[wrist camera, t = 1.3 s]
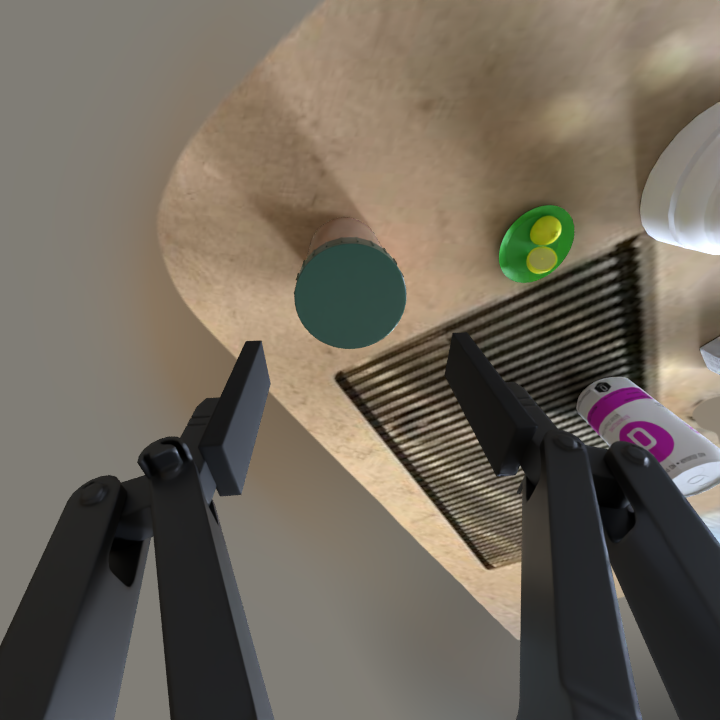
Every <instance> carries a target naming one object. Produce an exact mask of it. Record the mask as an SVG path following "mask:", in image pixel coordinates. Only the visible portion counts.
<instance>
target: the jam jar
mask: <svg viewBox="0 0 720 720" xmlns="http://www.w3.org/2000/svg"><path fill="white" fill-rule="evenodd" d="M356 236H357V237H358V238H362V239H365V240H368V241H371V240H372V242H373V243H375V244H377V245H379V246H380V247H382V246H381V244H380V242H379V240H378V239H377V237H376V235H375V233H374V232H373V231H372V229H371V228H370V227H369V226H367V225H366V224H365V223H363V222H362V221H360V220H357V219H354V218H350V217H339V218H335V219H332V220H329V221H328V222H326V223H324V224H323V225H322V226H321V227H320V228H319V229H318V230H317V231H316V232H315V234H314V236H313V237H312V240H311V242H310V246H309V251H308V255H307V258H308V256H309V255H310V254H311V253H312V252H313V250H314V249H317V248H318V247H319V246H321V245H323V244H325V243H326V241H327V242H329V241H331V240H334V239H338V238H340V237H342V238H345V237H356Z"/></svg>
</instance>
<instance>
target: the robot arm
mask: <svg viewBox="0 0 720 720" xmlns="http://www.w3.org/2000/svg"><path fill="white" fill-rule="evenodd" d="M445 377H446V379H447V381H448V383H449V385H450V387H451V389H452V391H453V393H454V394H455V396H456V398H457V400H458V402H459V404H460V406H461V408H462V410H463V412H464V414H465V416H466V418H467V420H468V422H469V424H470V426H471V428H472V429H473V431H474V433H475V435H476V437H477V439H478V441H479V443H480V445H481V447H482V449H483V451H484V453H485V455H486V457H487V459H488V461H489V463H490V464H491V466H492V468H493V470H494V472H495V474H496V476H511V475H516V473H517V471H518V469H519V466H521V468H522V469H523V471H524V472H525V476H524V478H523V480H522V482H521V484H520V486H519V488H518V491H517V493H518V494H520V493H521V491H522V489H523V491H522V564H521V636H520V642H521V644H520V701H519V710H518V715H517V719H516V720H642V717H641V712H640V708H639V703H638V698H637V693H636V688H635V683H634V678H633V674H632V669H631V663H630V659H629V654H628V649H627V644H626V639H625V634H624V629H623V624H622V619H621V614H620V609H619V605H618V599H617V595H616V590H615V585H614V580H613V575H612V570H611V566H612V568H613V570H614V572H615V575H616V577H617V579H618V581H619V584H620V586H621V588H622V591H623V593H624V595H625V597H626V599H627V602H628V604H629V606H630V609H631V611H632V613H633V615H634V617H635V620H636V622H637V624H638V627H639V629H640V631H641V633H642V636H643V638H644V640H645V642H646V644H647V647H648V649H649V652H650V654H651V656H652V658H653V661H654V663H655V665H656V667H657V670H658V672H659V674H660V676H661V679H662V681H663V683H664V685H665V687H666V690H667V692H668V694H669V697H670V699H671V701H672V704H673V706H674V708H675V710H676V713H677V715H678V717H679V719H680V720H720V543H719V542H718V541H717V539H716V538H715V537H714V535H713V534H712V533H711V531H710V530H709V529H708V527H707V526H706V525H705V523H704V522H703V521H702V519H701V518H700V517H699V515H698V514H697V513H696V511H695V510H694V509H693V507H692V506H691V505H690V503H689V502H688V501H687V499H686V498H685V497H684V495H683V494H682V492H681V491H680V490H679V488H678V487H677V486H676V484H675V483H674V482H673V480H672V479H671V478H670V476H669V475H668V474H667V472H666V471H665V470H664V468H663V467H662V466H661V464H660V463H659V462H658V460H657V459H656V458H655V457H654V456H653V455H652V454H651V453H650V452H649V451H647V450H646V449H644V448H643V447H640V446H638V445H636V444H634V443H630V442H626V441H616V442H614V443H612V445H611V446H610V447H609V449H603V448H597V447H592V446H587V445H585V444H584V443H583V442H582V441H581V440H580V439H579V438H578V437H576V436H575V435H573V434H571V433H569V432H566V431H563V430H558V428H557V427H556V426H555V425H554V424H553V422H552V421H551V420H550V419H549V418H548V416H547V415H546V414H545V413H544V412H543V410H542V409H541V408H540V407H539V406H537V403H536V402H535V401H534V399H532V397H531V396H530V395H529V393H528V392H527V391H526V390H525V389H524V388H523V387H521V386H520V385H518V384H517V383H515V382H505V381H504V380H503V379H502V377H501V376H500V375H499V374H498V372H497V371H496V370H495V368H494V367H493V366H492V364H491V363H490V362H489V360H488V359H487V358H486V357H485V355H484V354H483V353H482V351H481V350H480V349H479V347H478V346H477V345H476V343H475V342H474V341H473V340H472V338H471V337H470V336H469V334H468V333H467V332H465V333H453V334H452V339H451V345H450V350H449V355H448V360H447V365H446V370H445ZM270 384H271V383H270V379H269V374H268V369H267V365H266V360H265V355H264V350H263V346H262V341H246V342H245V344H244V346H243V349H242V351H241V353H240V355H239V357H238V359H237V362H236V364H235V366H234V368H233V371H232V373H231V375H230V377H229V379H228V381H227V383H226V386H225V388H224V390H223V392H222V394H221V397H220V398H206V399H205V400H204V401H203V402H202V403H200V404H199V405H198V406H197V407H196V409H195V411H194V413H193V415H192V418H191V419H190V420H189V422H188V424H187V426H186V428H185V430H184V432H183V434H182V435H181V437H180V438H179V437H166V438H162V439H159V440H157V441H155V442H153V443H151V444H150V445H149V446H147V447H146V448H145V449H144V450H143V451H142V453H141V454H140V456H139V459H138V462H137V463H138V464H139V466H140V467H141V469H142V470H143V472H144V473H145V475H144V476H141V477H138V478H134V479H131V480H128V481H125V482H122V483H121V482H120V481H119V480H118V479H117V477H115V476H110V475H108V476H101V477H98V478H95V479H92V480H90V481H89V482H87V483H85V484H84V485H82V486H81V487H80V488H78V490H76V491H75V492H74V493H73V494H72V496H71V497H70V498H69V500H68V501H67V504H66V506H65V508H64V510H63V512H62V514H61V516H60V519H59V521H58V523H57V525H56V527H55V530H54V532H53V534H52V536H51V538H50V540H49V542H48V544H47V547H46V549H45V551H44V553H43V555H42V558H41V560H40V562H39V564H38V566H37V568H36V570H35V572H34V575H33V577H32V579H31V581H30V583H29V585H28V587H27V590H26V592H25V594H24V596H23V598H22V600H21V602H20V605H19V607H18V609H17V611H16V613H15V615H14V617H13V620H12V622H11V624H10V626H9V628H8V630H7V633H6V635H5V637H4V639H3V641H2V643H1V645H0V720H114V717H115V712H116V707H117V702H118V697H119V692H120V687H121V682H122V678H123V673H124V668H125V663H126V658H127V653H128V648H129V643H130V638H131V633H132V628H133V623H134V618H135V613H136V609H137V604H138V599H139V594H140V589H141V584H142V579H143V574H144V569H145V564H146V559H147V554H148V549H149V545H150V540H151V537H153V536H154V547H155V558H156V568H157V578H158V589H159V600H160V611H161V621H162V632H163V643H164V654H165V664H166V675H167V686H168V695H169V707H170V717H171V720H274V716H273V713H272V709H271V706H270V702H269V699H268V695H267V691H266V688H265V684H264V680H263V677H262V673H261V670H260V666H259V662H258V659H257V655H256V652H255V648H254V645H253V641H252V637H251V633H250V630H249V627H248V623H247V619H246V615H245V612H244V609H243V605H242V601H241V598H240V594H239V591H238V587H237V583H236V580H235V576H234V572H233V569H232V565H231V561H230V558H229V554H228V551H227V547H226V543H225V540H224V536H223V533H222V529H221V525H220V522H219V519H218V515H217V511H216V507H215V504H214V502H213V500H212V498H213V494H214V492H215V489H217V491H218V493H219V495H220V496H231V495H241V493H242V489H243V486H244V482H245V478H246V474H247V470H248V467H249V463H250V459H251V455H252V452H253V448H254V444H255V440H256V437H257V433H258V429H259V425H260V422H261V418H262V414H263V410H264V406H265V402H266V399H267V395H268V391H269V388H270ZM631 506H632V507H631ZM610 563H611V565H610Z"/></svg>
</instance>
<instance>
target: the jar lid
mask: <svg viewBox="0 0 720 720" xmlns="http://www.w3.org/2000/svg"><path fill="white" fill-rule="evenodd" d="M403 277H404V276H403V274H402V273H401V271H400V270H399V268H398V267H397V263H396V261H395V259H394V258H392V257H391V256H390V255H389V254H388V253H387V252H386V250H385V248H382V247H380V246H379V245H377V244H375V243H373V242H372V240H371V241H368V240H365V239H362V238H358V237H357V236H356V237H345V238H342V237H340V238H338V239H334V240H331V241H329V242H327V241H326V243H325V244H323V245H321V246H319V247H318V248H317V249H314V250H313V252H312V253H311V254H310V255H309V256H308V258H307V259H306V260H304V261H303V265H302V267H301V270H300V272H299V273H298V275H297V278H296V280H297V283H296V287H295V291H294V294H295V296H294V297H295V306H296V311H297V314H298V316H299V318H300V320H301V322H302V324H303V325H304V327H305V328H306V329H307V330H308V331H309V333H310V334H312V335H313V336H314V337H315V338H317V339H318V340H320V341H321V342H323V343H325V344H327V345H330V346H333V347H337V348H343V349H356V348H362V347H366V346H369V345H372V344H374V343H376V342H378V341H380V340H382V339H383V338H384V337H386V336H387V335H388V334H389V333H390V332H391V331H392V330H393V329H394V328H395V327H396V325H397V324H398V322H399V321H400V319H401V317H402V315H403V312H404V309H405V305H406V285H405V282H404V278H403Z"/></svg>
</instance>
